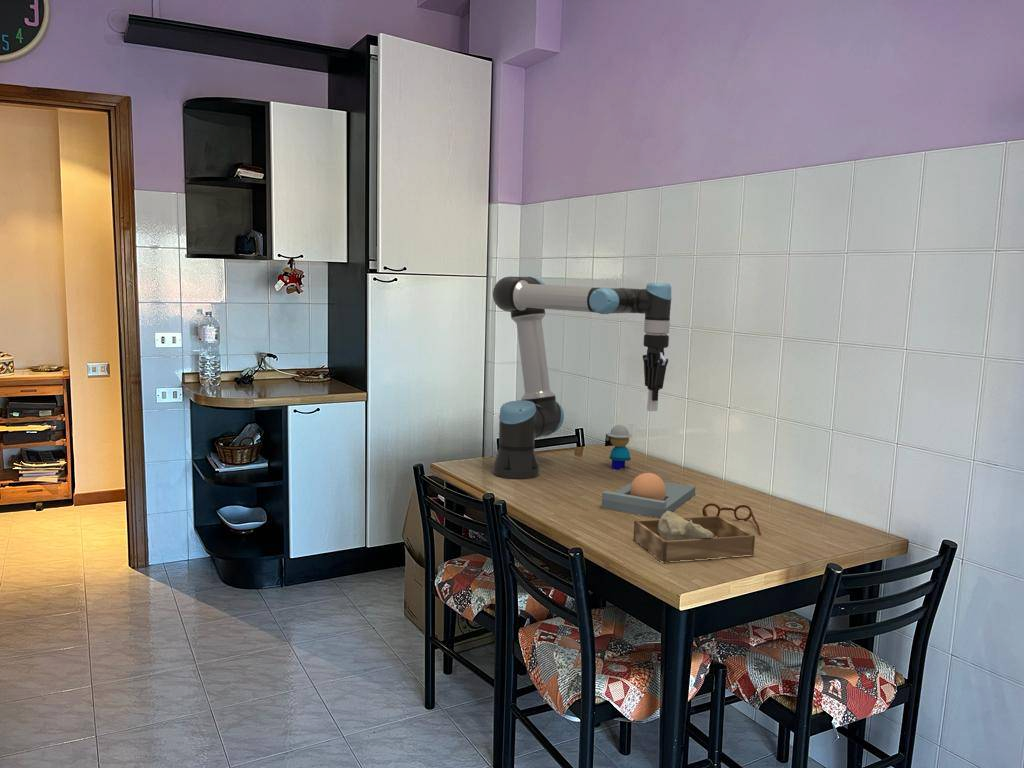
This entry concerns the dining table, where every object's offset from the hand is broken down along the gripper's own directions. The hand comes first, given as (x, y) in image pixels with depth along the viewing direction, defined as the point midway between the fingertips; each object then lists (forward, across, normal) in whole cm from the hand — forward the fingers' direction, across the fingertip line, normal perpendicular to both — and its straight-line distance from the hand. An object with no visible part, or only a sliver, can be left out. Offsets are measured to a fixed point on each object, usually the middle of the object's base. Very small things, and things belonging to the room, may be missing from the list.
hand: (652, 410), depth 244 cm
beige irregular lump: (+25, -55, +15) cm, 62 cm away
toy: (+25, +26, -1) cm, 36 cm away
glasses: (+25, -40, -5) cm, 48 cm away
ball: (+19, -20, +10) cm, 30 cm away
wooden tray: (+24, -54, +14) cm, 61 cm away
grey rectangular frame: (+24, -14, +6) cm, 29 cm away
